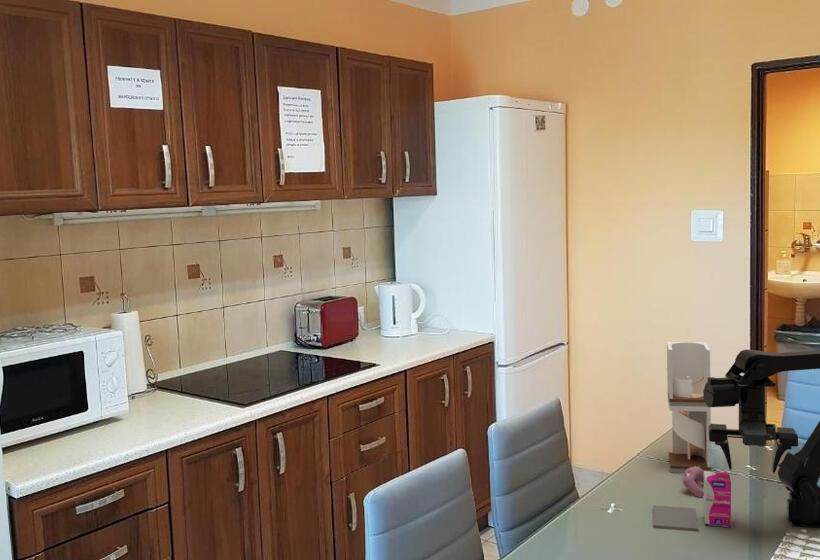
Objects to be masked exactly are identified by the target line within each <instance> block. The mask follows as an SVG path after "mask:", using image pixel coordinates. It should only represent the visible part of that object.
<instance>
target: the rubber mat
mask: <svg viewBox="0 0 820 560" xmlns="http://www.w3.org/2000/svg"><path fill="white" fill-rule="evenodd" d="M696 509H697V508H695V507H682V506H681V507H680V506H671V505H670V506H668V505H667V506H665V505H652V528H653V529H654V528H655V529H668V530H682V531H692V532H693V531H694V532H699V523H698V516H697V510H696Z"/></svg>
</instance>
